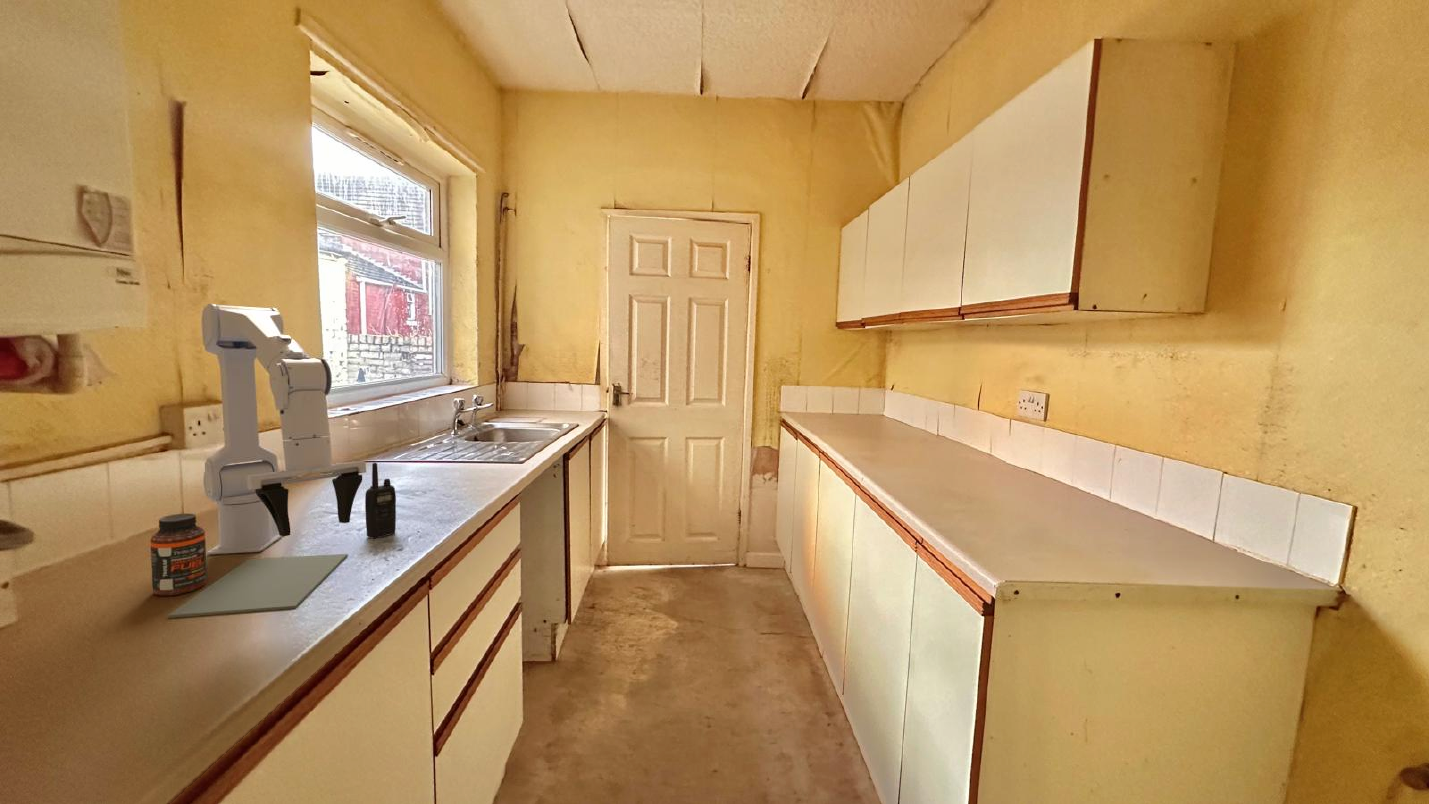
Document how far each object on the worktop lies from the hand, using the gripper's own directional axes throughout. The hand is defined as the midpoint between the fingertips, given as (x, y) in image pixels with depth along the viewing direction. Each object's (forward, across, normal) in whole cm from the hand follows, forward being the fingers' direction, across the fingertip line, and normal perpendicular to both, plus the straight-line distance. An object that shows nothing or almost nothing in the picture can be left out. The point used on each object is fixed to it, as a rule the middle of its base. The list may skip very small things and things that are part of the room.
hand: (315, 528), depth 82 cm
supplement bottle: (+8, -12, +20) cm, 24 cm away
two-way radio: (+7, +18, +22) cm, 29 cm away
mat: (+9, -3, +12) cm, 15 cm away
